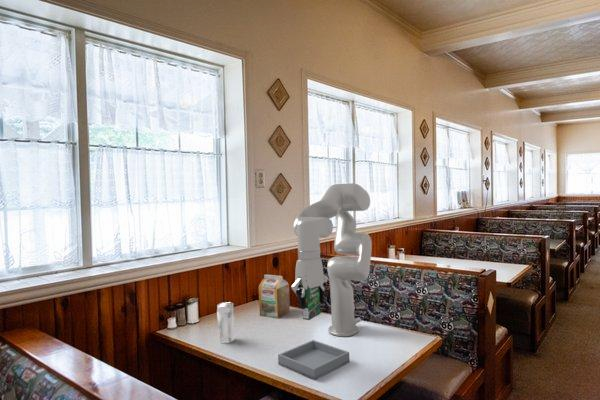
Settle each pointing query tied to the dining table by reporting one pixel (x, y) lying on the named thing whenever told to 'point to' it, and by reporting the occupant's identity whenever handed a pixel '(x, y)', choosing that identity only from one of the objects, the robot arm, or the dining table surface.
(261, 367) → the dining table surface
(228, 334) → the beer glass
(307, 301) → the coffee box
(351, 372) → the dining table surface
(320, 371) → the grey tray
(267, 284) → the milk carton
